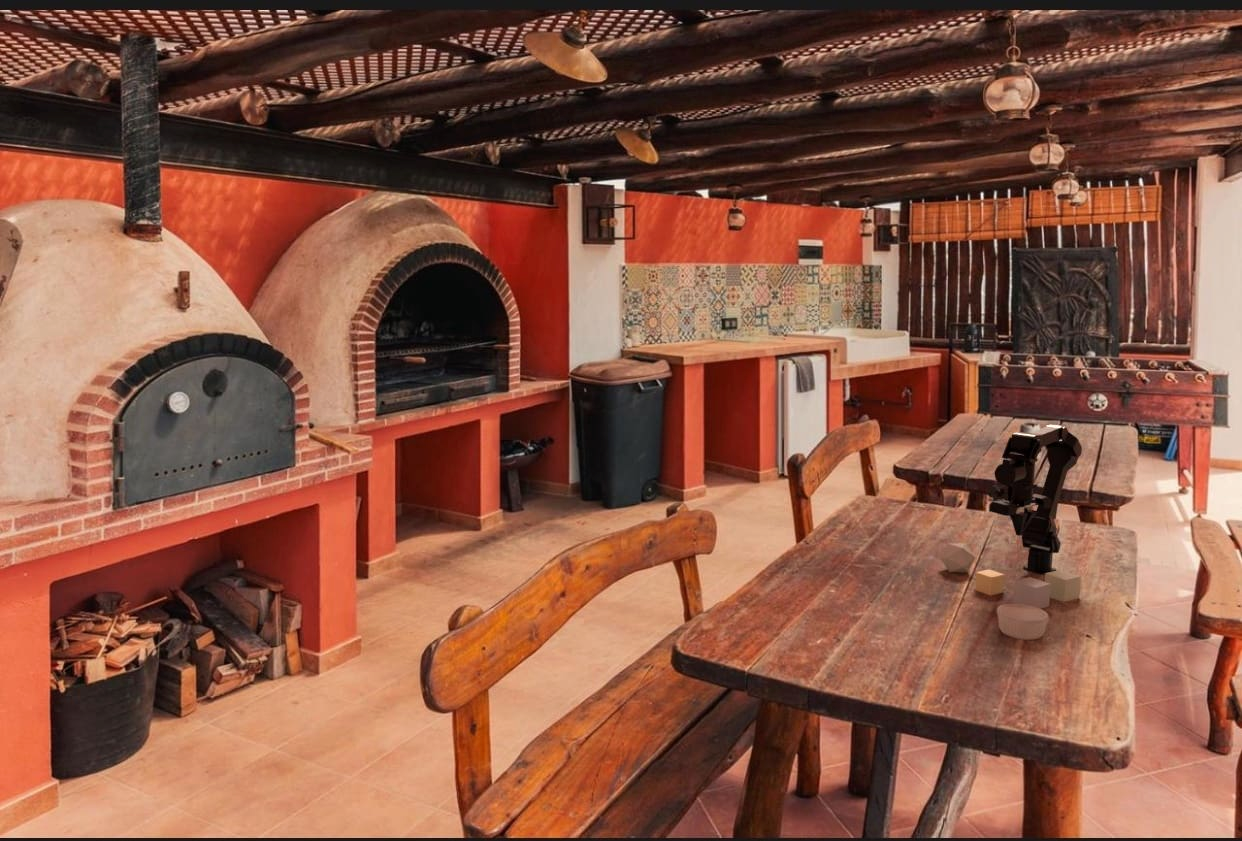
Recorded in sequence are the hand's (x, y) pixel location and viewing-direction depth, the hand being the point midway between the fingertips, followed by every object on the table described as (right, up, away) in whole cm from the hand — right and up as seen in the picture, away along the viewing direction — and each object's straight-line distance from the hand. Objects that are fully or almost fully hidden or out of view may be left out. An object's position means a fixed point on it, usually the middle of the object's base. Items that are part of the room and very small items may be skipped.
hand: (1018, 535), depth 248 cm
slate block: (-4, -16, -16) cm, 23 cm away
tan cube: (+7, -15, -10) cm, 19 cm away
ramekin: (-14, -19, -34) cm, 41 cm away
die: (-13, -12, +11) cm, 20 cm away
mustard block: (-10, -14, -6) cm, 18 cm away
